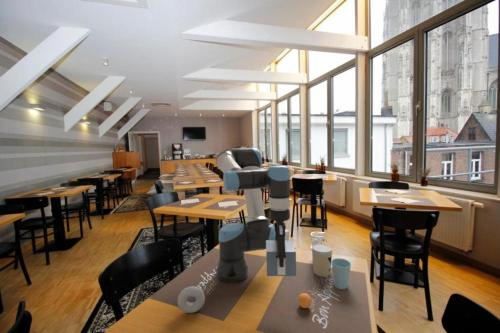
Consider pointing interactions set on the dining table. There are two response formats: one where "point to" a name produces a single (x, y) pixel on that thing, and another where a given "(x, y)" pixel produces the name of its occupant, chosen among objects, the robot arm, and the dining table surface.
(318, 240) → the white hollow stepped cylinder
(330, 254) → the coffee cup
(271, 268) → the slate blue cube
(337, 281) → the cup
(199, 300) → the grey ring
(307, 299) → the ball
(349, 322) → the dining table surface
